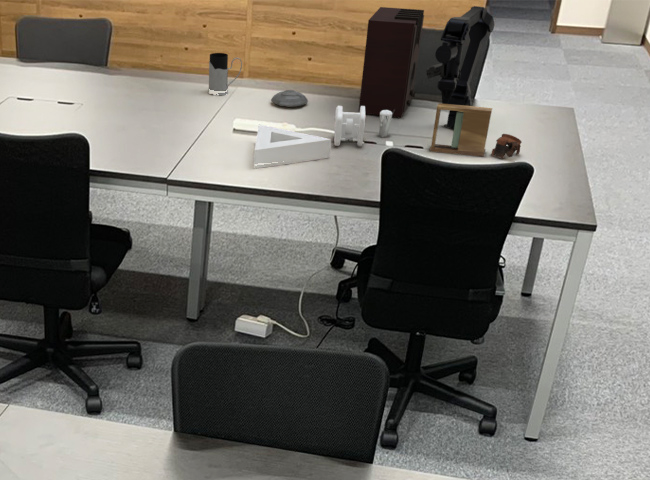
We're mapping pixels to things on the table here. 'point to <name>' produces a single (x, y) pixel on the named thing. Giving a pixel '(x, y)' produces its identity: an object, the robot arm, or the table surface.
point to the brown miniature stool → (503, 149)
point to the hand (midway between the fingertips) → (445, 103)
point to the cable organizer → (349, 125)
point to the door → (457, 129)
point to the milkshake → (385, 122)
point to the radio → (391, 60)
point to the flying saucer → (289, 98)
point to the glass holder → (219, 72)
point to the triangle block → (288, 147)
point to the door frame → (465, 130)
